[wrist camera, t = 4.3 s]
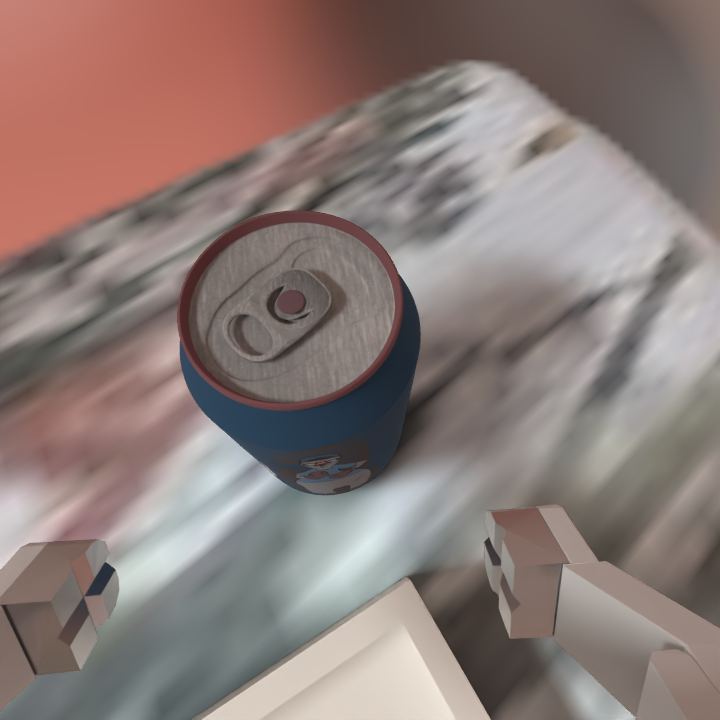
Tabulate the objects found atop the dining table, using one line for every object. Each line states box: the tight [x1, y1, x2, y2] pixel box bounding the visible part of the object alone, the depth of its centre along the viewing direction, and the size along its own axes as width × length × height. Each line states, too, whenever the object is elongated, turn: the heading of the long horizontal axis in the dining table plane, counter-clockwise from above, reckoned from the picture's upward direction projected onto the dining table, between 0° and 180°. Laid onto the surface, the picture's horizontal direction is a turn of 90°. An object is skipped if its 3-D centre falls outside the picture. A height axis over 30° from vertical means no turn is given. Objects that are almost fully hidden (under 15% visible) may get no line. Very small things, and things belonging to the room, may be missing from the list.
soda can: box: [177, 211, 421, 495], centre depth 17 cm, size 7×7×12 cm
